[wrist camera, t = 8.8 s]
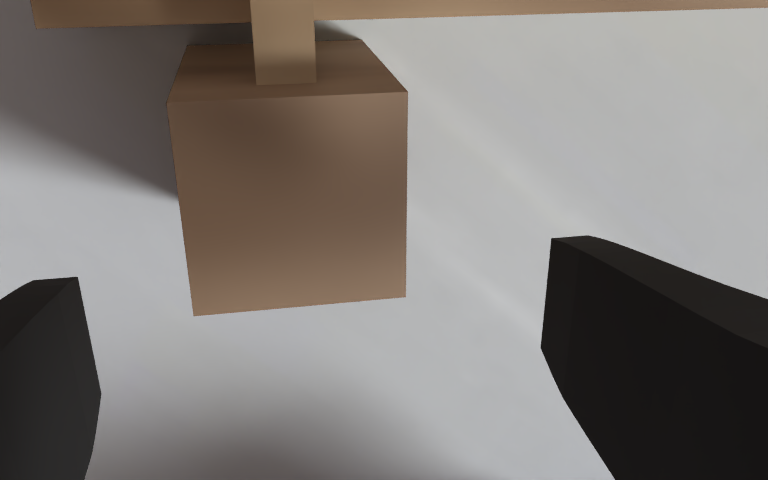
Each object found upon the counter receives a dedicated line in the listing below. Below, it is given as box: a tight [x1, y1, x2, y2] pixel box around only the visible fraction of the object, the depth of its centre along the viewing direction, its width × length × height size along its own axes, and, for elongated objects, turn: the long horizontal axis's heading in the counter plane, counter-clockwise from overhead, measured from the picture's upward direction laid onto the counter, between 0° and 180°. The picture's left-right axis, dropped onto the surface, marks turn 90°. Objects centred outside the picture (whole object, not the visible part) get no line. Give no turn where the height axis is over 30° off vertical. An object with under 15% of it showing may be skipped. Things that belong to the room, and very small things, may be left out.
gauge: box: [166, 0, 408, 316], centre depth 16 cm, size 9×4×6 cm, turn 0°
